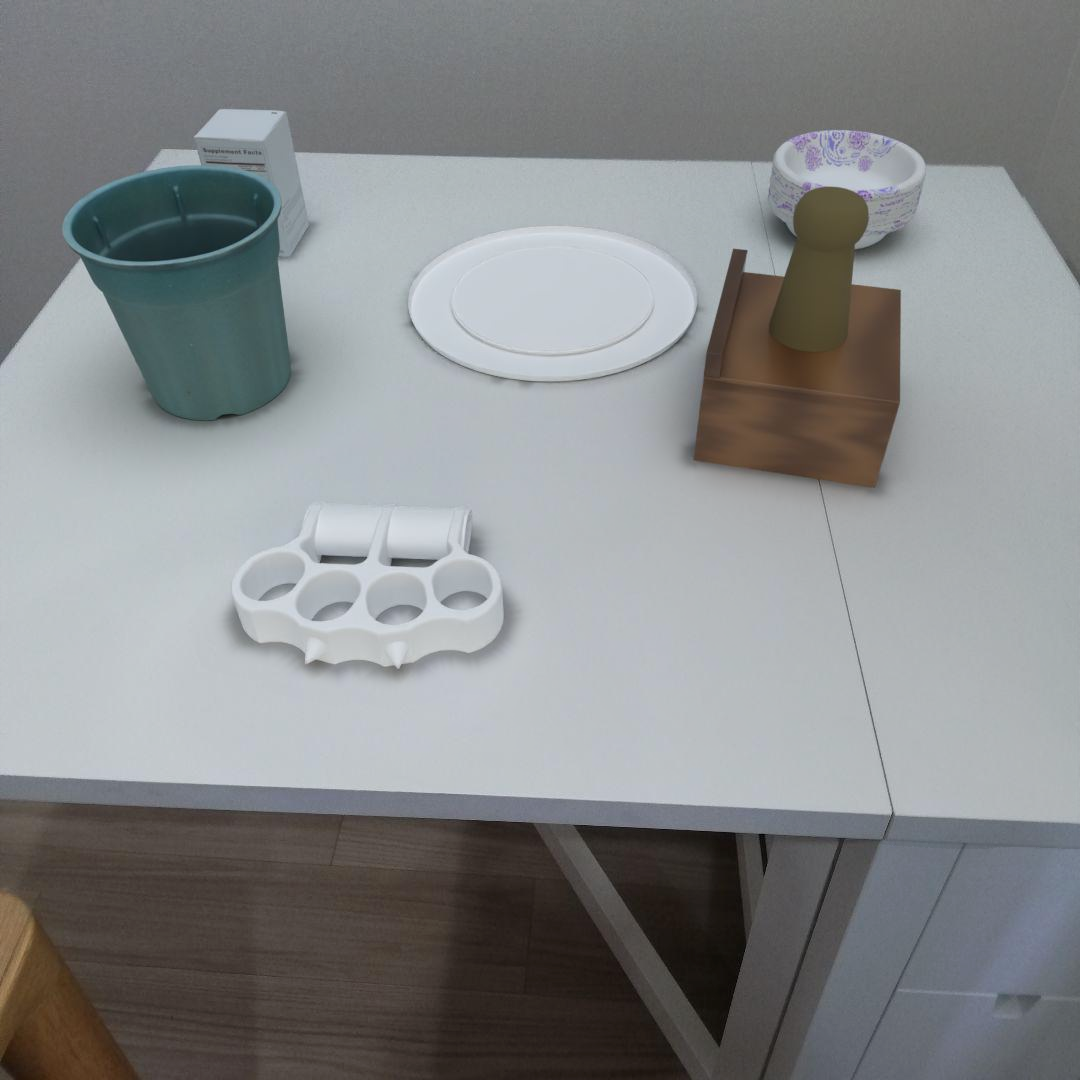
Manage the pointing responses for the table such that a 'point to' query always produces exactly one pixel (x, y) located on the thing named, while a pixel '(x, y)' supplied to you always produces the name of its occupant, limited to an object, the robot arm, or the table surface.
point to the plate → (552, 303)
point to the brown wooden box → (799, 386)
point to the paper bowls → (850, 176)
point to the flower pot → (191, 283)
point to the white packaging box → (259, 160)
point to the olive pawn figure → (820, 271)
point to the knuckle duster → (372, 585)
